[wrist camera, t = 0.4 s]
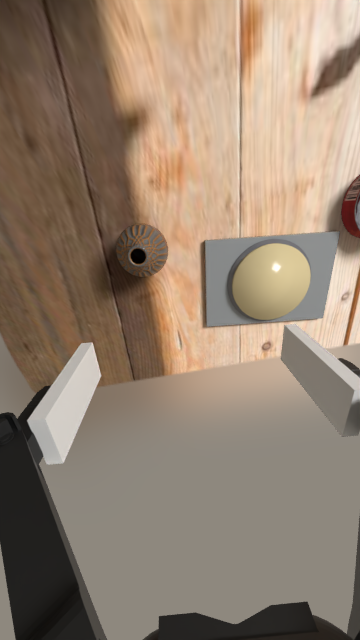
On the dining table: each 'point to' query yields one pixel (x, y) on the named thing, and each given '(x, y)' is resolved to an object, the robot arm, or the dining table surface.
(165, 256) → the vase
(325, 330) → the dining table surface
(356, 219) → the canned food
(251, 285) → the board
